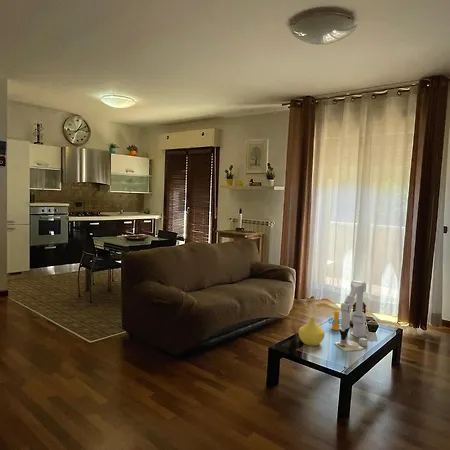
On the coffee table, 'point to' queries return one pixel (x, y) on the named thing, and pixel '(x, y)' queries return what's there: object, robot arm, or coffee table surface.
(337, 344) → the scale
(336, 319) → the orange toy figure
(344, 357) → the coffee table surface
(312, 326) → the vase
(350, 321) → the scroll
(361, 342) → the block
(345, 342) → the block
